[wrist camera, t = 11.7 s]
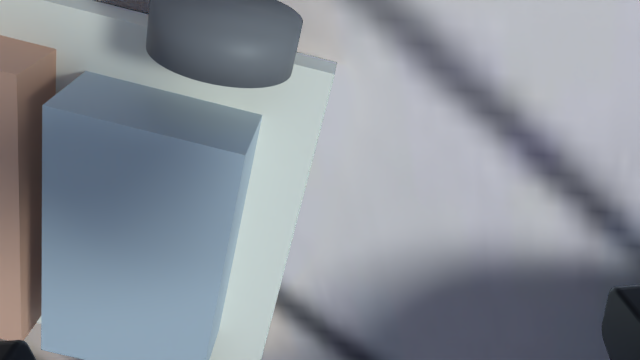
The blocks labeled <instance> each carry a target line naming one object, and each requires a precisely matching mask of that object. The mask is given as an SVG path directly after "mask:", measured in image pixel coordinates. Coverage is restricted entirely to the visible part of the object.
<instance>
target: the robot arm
mask: <svg viewBox="0 0 640 360" xmlns="http://www.w3.org/2000/svg"><path fill="white" fill-rule="evenodd" d="M602 336H603V340H604V343H605V346H606V349H607V352H608V354H609V357H610V360H640V285H629V286H617V287H614V288H612V289H611V290H610V292H609V295H608V299H607V303H606V308H605V312H604V317H603V322H602ZM0 360H36V359H35V357H34V355H33V353H32V351H31V349H30V347H29V346H28V344H27V343H26V342H25V341H23V340H11V341H0Z"/></svg>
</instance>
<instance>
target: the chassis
mask: <svg viewBox="0 0 640 360" xmlns="http://www.w3.org/2000/svg"><path fill="white" fill-rule="evenodd" d="M302 24H303V20H302V18H301V16H300V15H299V14H298V13H297V12H296V11H295V10H293V9H292V8H290V7H289V6H287V5H285V4H283V3H281V2H279V1H277V0H150V5H149V14H145V13H141V12H137V11H133V10H129V9H125V8H121V7H117V6H113V5H109V4H106V3H102V2H98V1H94V0H0V339H5V340H9V341H11V340H23V341H24V339H25V338H26V336H27V335H28V334H29V332H30V331H31V329H32V328H33V327H34V325H35V324H36V323H40V324H41V350H45V351H49V352H53V353H58V354H62V355H66V356H71V357H75V358H79V359H83V360H261V358H262V354H263V350H264V347H265V343H266V339H267V335H268V331H269V327H270V323H271V319H272V316H273V312H274V308H275V304H276V300H277V296H278V292H279V288H280V285H281V281H282V277H283V273H284V269H285V265H286V261H287V257H288V254H289V250H290V246H291V242H292V238H293V234H294V230H295V226H296V223H297V219H298V215H299V211H300V207H301V203H302V199H303V195H304V192H305V188H306V184H307V180H308V176H309V172H310V168H311V164H312V161H313V157H314V153H315V149H316V145H317V141H318V137H319V133H320V130H321V126H322V122H323V118H324V114H325V110H326V106H327V102H328V98H329V95H330V91H331V87H332V83H333V79H334V75H335V70H336V65H337V62H333V61H329V60H325V59H322V58H318V57H314V56H310V55H306V54H302V53H298V52H296V51H297V47H298V42H299V38H300V33H301V28H302Z"/></svg>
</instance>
